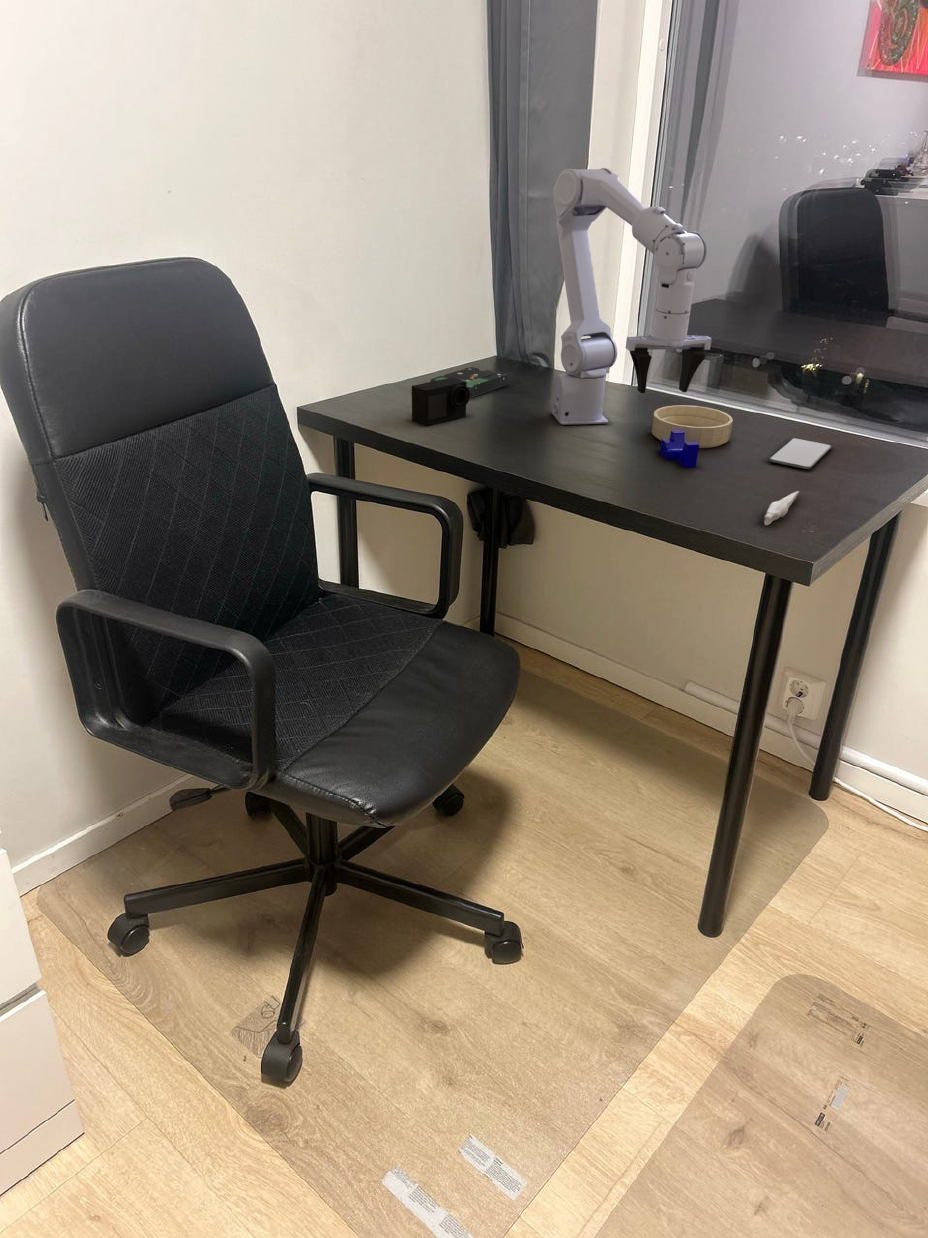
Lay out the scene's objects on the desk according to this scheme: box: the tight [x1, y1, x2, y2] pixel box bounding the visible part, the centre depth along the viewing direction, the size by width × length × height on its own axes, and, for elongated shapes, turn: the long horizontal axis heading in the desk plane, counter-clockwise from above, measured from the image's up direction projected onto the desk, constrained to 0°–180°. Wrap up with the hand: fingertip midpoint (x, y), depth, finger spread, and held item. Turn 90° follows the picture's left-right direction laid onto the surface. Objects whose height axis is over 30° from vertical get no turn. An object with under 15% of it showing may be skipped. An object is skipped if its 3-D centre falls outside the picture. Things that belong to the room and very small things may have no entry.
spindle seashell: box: [763, 490, 800, 526], centre depth 133 cm, size 15×3×2 cm, turn 144°
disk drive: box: [430, 366, 509, 399], centre depth 190 cm, size 10×3×15 cm
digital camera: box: [411, 378, 470, 427], centre depth 169 cm, size 10×5×7 cm, turn 131°
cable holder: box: [659, 430, 700, 469], centre depth 152 cm, size 8×4×4 cm, turn 9°
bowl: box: [651, 404, 734, 449], centre depth 163 cm, size 14×14×4 cm
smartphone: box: [769, 437, 832, 470], centre depth 156 cm, size 7×1×15 cm
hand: (662, 391), depth 155 cm, fingers open, 7 cm apart
